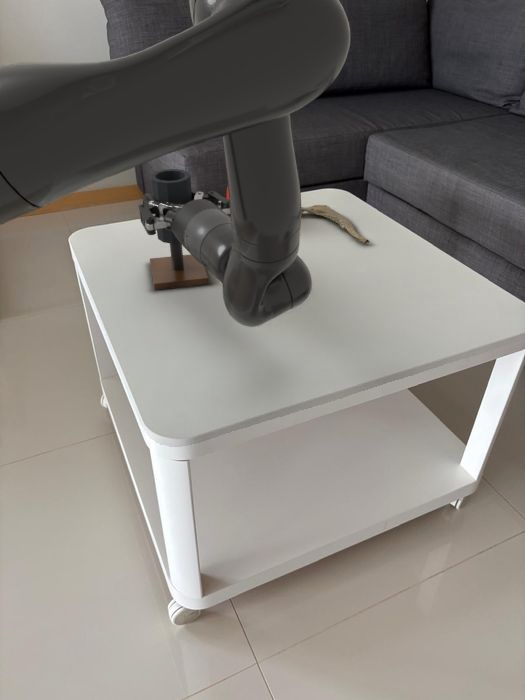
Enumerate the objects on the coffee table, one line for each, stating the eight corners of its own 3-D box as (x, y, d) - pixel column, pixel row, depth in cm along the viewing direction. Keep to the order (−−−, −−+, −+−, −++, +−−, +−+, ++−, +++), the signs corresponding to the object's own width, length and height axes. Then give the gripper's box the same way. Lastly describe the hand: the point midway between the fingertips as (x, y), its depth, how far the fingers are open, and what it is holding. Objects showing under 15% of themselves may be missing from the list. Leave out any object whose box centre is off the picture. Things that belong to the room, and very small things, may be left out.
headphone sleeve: (159, 245, 87) (152, 183, 81) (156, 229, 91) (149, 170, 85) (196, 241, 88) (192, 180, 82) (191, 226, 92) (187, 167, 86)
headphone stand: (154, 290, 90) (146, 220, 82) (150, 264, 97) (141, 198, 89) (208, 284, 91) (204, 215, 84) (200, 259, 98) (196, 194, 91)
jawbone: (310, 206, 119) (311, 197, 118) (390, 235, 109) (393, 226, 108) (284, 215, 114) (285, 205, 112) (366, 247, 103) (368, 237, 102)
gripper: (255, 200, 76) (206, 165, 88) (158, 220, 71) (119, 180, 83) (255, 248, 81) (209, 209, 93) (164, 271, 75) (127, 226, 87)
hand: (167, 195), depth 88 cm, fingers closed on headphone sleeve, 6 cm apart
